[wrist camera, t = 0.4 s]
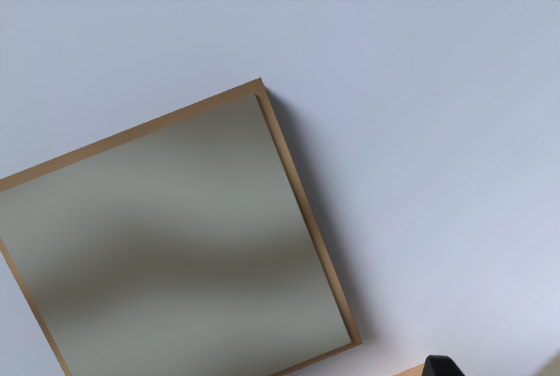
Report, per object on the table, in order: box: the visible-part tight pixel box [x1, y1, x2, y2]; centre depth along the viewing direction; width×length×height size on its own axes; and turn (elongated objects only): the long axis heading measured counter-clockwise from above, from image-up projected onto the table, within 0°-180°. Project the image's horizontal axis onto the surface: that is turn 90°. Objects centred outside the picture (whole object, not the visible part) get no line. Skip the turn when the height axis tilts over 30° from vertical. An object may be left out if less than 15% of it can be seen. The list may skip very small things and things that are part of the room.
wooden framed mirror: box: [0, 77, 363, 376], centre depth 21 cm, size 13×13×3 cm
